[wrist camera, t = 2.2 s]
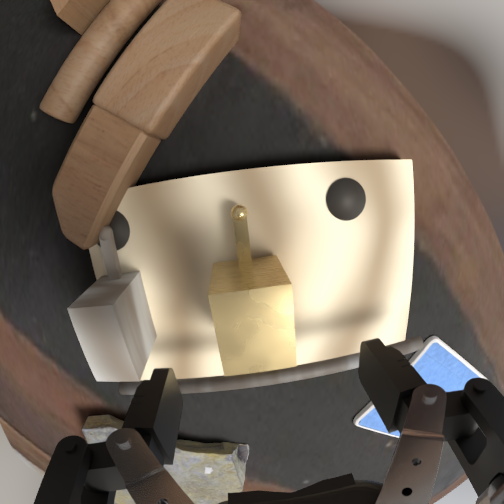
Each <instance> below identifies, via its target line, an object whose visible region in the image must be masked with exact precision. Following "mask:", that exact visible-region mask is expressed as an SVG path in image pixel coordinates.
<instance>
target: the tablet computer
mask: <svg viewBox="0 0 504 504" xmlns="http://www.w3.org/2000/svg"><path fill="white" fill-rule="evenodd" d="M409 362H410V365H412V366H413V367H414V368H415V370H416V371H417V372H418V373H419V375H420V376H421V377H422V378H423V379H424V381H425V382H426V383H427V384H435V385H438V386H440V387H441V388H443V389H444V390H445V392H451V391H458V390H463V389H464V386H465V384H466V382H467V381H468V380H470V379H472V378H484V379H487V378H486V377H484V376H483V375H482V374H481V373H480V372H479V371H477V370H476V369H475V368H474V367H473V366H472V365H471V364H469V363H468V362H467V361H466V360H465V359H463V358H462V357H461V356H460V355H459V354H457V353H456V352H455V351H454V350H453V349H451V348H450V347H449V346H448V345H447V344H445V343H444V342H443V341H442V340H440V339H439V338H438V337H437V336H431V337H429V338H428V339H427V340H426V341H425V342H424V343H423V348H422V349H421V350H417V351H416V353H415V354H414V355H413V356H412V357H411V359H410V360H409ZM487 380H488V379H487ZM353 422H354V424H355V425H356V426H359V427H362V428H365V429H369V430H372V431H376V432H379V433H383V434H386V435H390V436H394V437H398V438H399V437H400V433H399V431H398V430H397V431H394V432H391V433H388V431H387V429H386V427H385V425H384V423H383V421H382V420H381V418H380V416H379V414H378V412H377V410H376V409H375V407H374V405H373V403H372V401H370V402H369V403H368V404H367V405H366V406H365V407H364V408H363V409H362V410H361V411H360V412H359V413H358V414H357V415H356V416H355V418H354V420H353Z"/></svg>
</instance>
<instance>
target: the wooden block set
mask: <svg viewBox="0 0 504 504" xmlns="http://www.w3.org/2000/svg"><path fill="white" fill-rule="evenodd" d="M50 1H51V3H52V5H53V8H54V10H55V12H56V14H57V16H58V17H60V18H61V19H62V20H63V21H65V22H66V23H67V24H68V25H70V26H71V27H72V28H73V29H74V30H76V31H77V32H78V33H79V34H81V35H82V37H81V38H80V40H79V41H78V42H77V44H76V45H75V47H74V48H73V50H72V51H71V53H70V54H69V56H68V57H67V59H66V60H65V62H64V63H63V65H62V67H61V68H60V70H59V71H58V73H57V75H56V76H55V78H54V80H53V81H52V83H51V85H50V87H49V88H48V90H47V92H46V94H45V96H44V98H43V100H42V101H41V103H40V109H41V110H42V111H43V112H45V113H46V114H48V115H50V116H52V117H54V118H56V119H58V120H61V121H63V122H66V123H75V122H76V121H77V119H78V117H79V115H80V113H81V112H82V110H83V108H84V106H85V105H86V103H87V101H88V100H89V98H90V96H91V95H92V93H93V91H94V90H95V88H96V86H97V85H98V83H99V82H100V80H101V79H102V77H103V76H104V74H105V72H106V71H107V70H108V68H109V67H110V65H111V64H112V62H113V61H114V59H115V58H116V57H117V55H118V54H119V52H120V51H121V50H122V48H123V47H124V46H125V44H126V43H127V42H128V40H129V39H130V38H131V37H132V35H133V34H134V33H135V31H136V30H137V29H138V28H139V27H140V25H141V24H142V23H143V22H144V21H145V19H146V18H147V17H148V16H149V15H150V14H151V12H152V11H153V10H154V9H155V8H156V7H157V6H158V5H159V3H160V2H161V1H162V0H50ZM109 1H110V2H109ZM108 2H109V3H108ZM107 3H108V4H107ZM103 8H104V9H103ZM102 9H103V10H102ZM101 10H102V11H101ZM98 14H99V15H98ZM97 15H98V16H97ZM94 19H95V20H94ZM93 20H94V21H93ZM240 20H241V12H240V11H239V10H238V9H237V8H235V7H233V6H231V5H229V4H226V3H224V2H222V1H220V0H166V1H165V2H164V3H163V4H162V5H161V7H160V8H159V9H158V10H157V11H156V12H155V13H154V14H153V16H152V17H151V18H150V19H149V20H148V21H147V23H146V24H145V25H144V26H143V27H142V29H141V30H140V31H139V32H138V34H137V35H136V36H135V37H134V39H133V40H132V41H131V43H130V44H129V45H128V46H127V48H126V49H125V51H124V52H123V53H122V55H121V56H120V57H119V59H118V60H117V62H116V63H115V64H114V66H113V67H112V69H111V70H110V72H109V73H108V75H107V76H106V78H105V79H104V81H103V82H102V84H101V86H100V87H99V89H98V90H97V92H96V94H95V95H94V98H93V103H94V104H95V105H93V106H92V107H91V109H90V110H89V112H88V114H87V116H86V117H85V119H84V121H83V123H82V125H81V127H80V129H79V130H78V132H77V134H76V136H75V138H74V140H73V142H72V144H71V146H70V148H69V150H68V152H67V154H66V157H65V159H64V161H63V163H62V165H61V168H60V170H59V172H58V174H57V177H56V179H55V181H54V184H53V189H52V196H53V200H54V204H55V208H56V212H57V216H58V220H59V223H60V227H61V231H62V232H63V234H64V235H65V237H66V238H67V239H69V240H70V241H71V242H73V243H74V244H76V245H77V246H79V247H80V248H82V249H83V250H85V249H89V248H91V247H93V246H94V245H96V244H97V243H99V242H100V240H99V234H100V232H101V230H102V229H103V227H104V226H106V225H107V226H109V225H110V222H111V220H112V218H113V216H114V214H115V212H116V211H117V209H118V207H119V205H120V203H121V201H122V199H123V197H124V195H125V193H126V191H127V189H128V188H130V187H135V185H136V183H137V181H138V179H139V177H140V176H141V174H142V172H143V170H144V169H145V167H146V165H147V163H148V162H149V160H150V158H151V156H152V155H153V153H154V151H155V150H156V148H157V146H158V145H159V143H160V142H161V140H160V139H164V140H165V139H166V138H167V137H169V135H170V134H171V132H172V130H173V129H174V127H175V126H176V124H177V123H178V121H179V120H180V118H181V117H182V115H183V114H184V112H185V111H186V109H187V108H188V106H189V105H190V103H191V102H192V100H193V99H194V98H195V96H196V95H197V93H198V92H199V91H200V89H201V88H202V86H203V85H204V84H205V82H206V81H207V80H208V78H209V77H210V76H211V74H212V73H213V72H214V70H215V69H216V68H217V66H218V65H219V64H220V62H221V61H222V60H223V59H224V57H225V56H226V55H227V54H228V52H229V51H230V50H231V49H232V47H233V46H234V45H235V44H236V43H237V41H238V38H239V30H240ZM90 24H91V25H90ZM89 25H90V26H89ZM87 28H88V29H87ZM86 29H87V30H86ZM84 32H85V33H84ZM83 33H84V34H83Z"/></svg>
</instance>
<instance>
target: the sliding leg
mask: <svg viewBox="0 0 504 504" xmlns="http://www.w3.org/2000/svg"><path fill="white" fill-rule="evenodd" d="M247 215H248V211H247V209H246V207H245V206H243V205H235V206H234V207H233V208H232V209H231V217H232V218H233V223H234V231H235V239H236V246H237V254H238V260H233V261H225V262H217V263H213V267H212V273H211V280H210V286H209V292H208V297H209V303H210V308H211V313H212V319H213V324H214V329H215V334H216V339H217V343H218V348H219V353H220V358H221V363H222V367H223V372H224V376H233V375H241V374H249V373H257V372H264V371H271V370H278V369H284V368H290V367H296V366H297V361H296V341H295V324H294V308H293V293H292V283H291V281H290V279H289V278H288V276H287V274H286V272H285V270H284V268H283V266H282V264H281V263H280V261H279V259H278V257H277V255H271V256H263V257H255V258H252V257H251V249H250V240H249V232H248V224H247Z"/></svg>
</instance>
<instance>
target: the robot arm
mask: <svg viewBox="0 0 504 504" xmlns="http://www.w3.org/2000/svg"><path fill="white" fill-rule="evenodd" d="M358 372H359V378H360V381H361V384H362V385H363V387H364V389H365V391H366V392H367V394H368V396H369V398H370V400H371V401H372V403H373V405H374V407H375V409H376V410H377V412H378V414H379V416H380V418H381V420H382V421H383V423H384V425H385V427H386V429H387V431H388V433H391V432H394V431H397V430H398V431H399V433H400V437H399V440H398V443H397V446H396V449H395V451H394V454H393V457H392V460H391V463H390V465H389V468H388V470H387V473H386V475H385V478H384V480H383V483H379V482H374V481H368V480H354V478H353V475H352V473H351V474H347V475H343V476H339V477H335V478H331V479H327V480H322V481H320V482H318V483H315V484H313V485H311V486H308V487H306V488H303V489H301V490H298V491H296V492H292V493H285V492H269V491H249V492H235V493H228V500H227V501H223V502H220V503H218V504H429V501H430V497H431V494H432V490H433V487H434V483H435V479H436V475H437V471H438V467H439V462H440V458H441V453H442V448H443V442H445V441H448V443H449V445H450V446H451V448H452V450H453V452H454V453H455V455H456V457H457V459H458V460H459V462H460V464H461V466H462V467H463V469H464V471H465V473H466V475H467V476H468V478H469V480H470V482H471V484H472V486H473V488H474V489H475V491H476V493H477V495H478V499H477V501H476V504H504V396H503V395H502V394H501V393H500V392H499V391H498V390H497V388H496V387H495V386H494V385H493V384H492V383H491V382H490V381H489V380H487V379H484V378H472V379H470V380H468V381H467V382H466V384H465V386H464V389H463V390H458V391H451V392H445V390H444V389H443V388H441V387H440V386H438V385H435V384H427V383H426V382H425V381H424V379H423V378H422V377H421V376H420V375H419V373H418V372H417V371H416V370H415V368H414V367H413V366H412V365H410V362H409V361H408V360H407V359H406V358H405V356H404V355H403V354H402V353H401V352H400V351H399V350H397V349H395V348H393V347H392V346H389V347H386V346H385V345H384V344H383V342H382V341H381V340H380V339H379V338H375V339H371V340H367V341H362V342H361V345H360V357H359V369H358ZM182 408H183V400H182V394H181V391H180V389H179V386H178V383H177V380H176V377H175V374H174V371H173V369H172V368H155V369H154V370H153V373H152V375H151V378H150V380H144V381H143V382H142V383H141V384H140V385H139V386H138V387H137V389H136V391H135V394H134V398H133V399H132V402H131V405H130V407H129V409H128V412H127V415H126V417H125V420H124V423H123V426H122V428H121V429H118V430H116V431H114V432H112V433H111V434H110V435H109V436H108V438H107V440H106V441H105V442H99V443H92V444H87V443H86V442H85V440H84V439H83V438H81V437H79V436H68V437H65V438H63V439H62V440H61V441H60V442H59V443H58V444H57V446H56V448H55V451H54V453H53V455H52V458H51V460H50V463H49V465H48V468H47V470H46V472H45V475H44V478H43V480H42V483H41V486H40V488H39V491H38V493H37V496H36V499H35V502H34V504H114V500H115V495H116V490H123V489H127V490H128V492H129V494H130V495H131V497H132V499H133V500H134V502H135V503H136V504H194V502H193V501H192V500H191V499H190V498H189V497H188V496H187V494H186V493H185V492H184V491H183V490H182V489H181V487H180V486H179V485H178V484H177V483H176V481H175V480H174V479H173V478H172V476H171V475H170V474H169V472H168V471H167V470H166V469H165V468H164V467H163V466H164V465H173V461H174V455H175V449H176V442H177V437H178V431H179V425H180V419H181V414H182ZM478 426H479V427H480V428H479V427H478ZM480 429H481V430H482V431H481V430H480ZM482 432H483V433H484V434H485V435H484V434H483V433H482ZM485 436H486V437H485Z"/></svg>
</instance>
